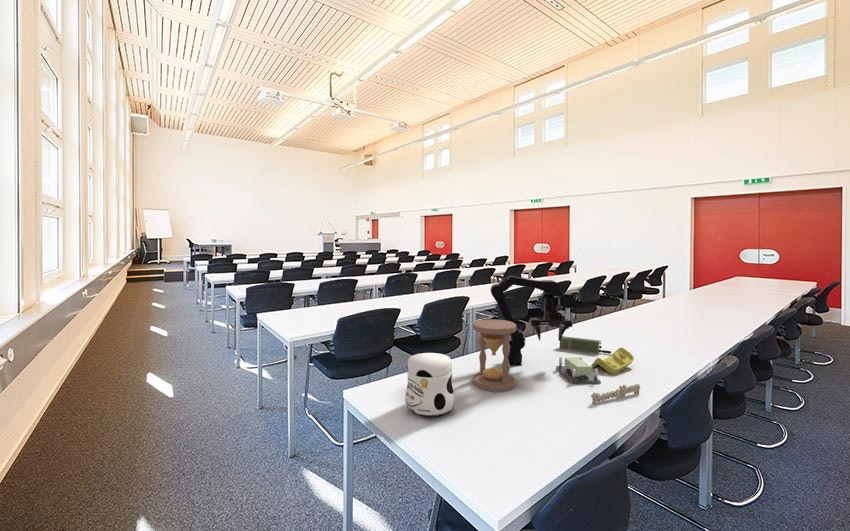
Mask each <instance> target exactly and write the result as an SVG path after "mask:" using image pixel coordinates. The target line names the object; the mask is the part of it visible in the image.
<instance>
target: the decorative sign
mask: <svg viewBox="0 0 850 531" xmlns="http://www.w3.org/2000/svg"><path fill="white" fill-rule="evenodd" d="M640 389H641V385H640V384H639V383H636V384H634V385H633V384H631V385H629V386H627V385H625V384H622V385H619V386H618V388H617V389H615V391H614V390H611V391H607V392H604V393H602V394H600V393H599V392H592V394H591V395H590V397H591V400H592V402H591V404H593V405H596V404H597V403H600V402H604V401H607V400H610V399H613V398H618V399H619V398H626V395H627V394H631V393H634V394H635V393H636V395H640Z"/></svg>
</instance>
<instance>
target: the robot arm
mask: <svg viewBox="0 0 850 531" xmlns="http://www.w3.org/2000/svg"><path fill="white" fill-rule="evenodd" d="M512 286H520V287H525V288H531V289H536V290H539V291H542V292H543V294H540V297H541V298H542V299H544V308H543V311H544V314H543V319H539V318H538V317H529V319H528V324H529V325H530V326H531V327H533V328H534V330H535V332H536V335H537V338H538V340H539V341H541V329H542V327H541V325H548V326H549V327H550V328H553V327H556V328H558V341H559V342H560V340H561V338H562V336H563V335H564V333H565V331H566V330H569V329H570V328H573V321H572V320H571V319H569V318H566V317H565V315H559V310H558V306H559V307H560V308H561V309H575V308H576V305H577V304H576V303H577V302H576V298H575V294H574V293H563V292H562V291H561V290H560V284H559V283H558V282H557V281H555V280H553V279H550V280H549V279H545V280H544V279H543V280H542V279H541V280H539V279H538V280H537V279H530V278H525V277H524V278H523V277H517V276H515V275H509V276H508V277H507V278H505V279H503V280H500V282H498V283H493V284H492V285H491V287H490V294H491V296H492V297H493V299H494V300H495V302H496V303H497V305H498V307H499V309H500V312H501V315H502V316H503V320H506V321H510V322H513V323H515V321H514V318H513V316H512V314H511V311H510V309H509V306H508V304H507V302H506V295H505V292H507V290H508V289H509V288H511V287H512ZM554 295H555V296H554ZM509 337H510V339H509V345H510V352H509V356H508V360H509V364H510V366H522V365H523V354H522V351H521V350H522V349H523V348H525V346H526V342H527V341H526V340H527V339H526V338H525V336H524V334H523V331H522V329H518V328H517V327H516V331H515V332H513V333H510V334H509Z"/></svg>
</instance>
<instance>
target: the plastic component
mask: <svg viewBox="0 0 850 531" xmlns="http://www.w3.org/2000/svg"><path fill="white" fill-rule="evenodd" d="M634 360H635V356H634V355H633V354H632V353H631V352H630V351H628V350H627V349H626V348H624V347H619V348H618V349H617V350H616V351H614V352H613V353H611V354H609V356H608V357H605V358H604V359H603V358H601V357H597V358H596V359H595V360H594V361H593V363H592V364H591V365H590V366H591V368H594V369H595V368H597V367H598V366H600V367H601V368H602V369H603V370H604V371H606V372H607V373H609V374H610V375H614V374H615V373H616V374H618V373H619V372H621V371H623V370H625V369H627V367H628V366H631V364H632V363H633V362H634Z"/></svg>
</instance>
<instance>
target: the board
mask: <svg viewBox="0 0 850 531" xmlns="http://www.w3.org/2000/svg"><path fill="white" fill-rule="evenodd" d="M563 363H564V365H563V366H566V367H567V368H569V369H570V370H571V371H572V370H573V369H576V374H577V375H591V373H592V366H591V365H590V364H588V363H587V362H585V361H584V360H583V359H582V360H581V359H579V357H578V356H577V357H576V356H575V357H572V356H571V357H569V356H568V357H564V362H563Z"/></svg>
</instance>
